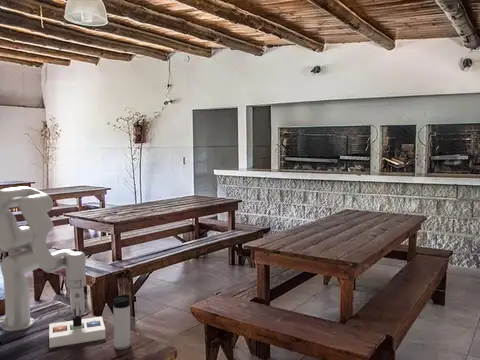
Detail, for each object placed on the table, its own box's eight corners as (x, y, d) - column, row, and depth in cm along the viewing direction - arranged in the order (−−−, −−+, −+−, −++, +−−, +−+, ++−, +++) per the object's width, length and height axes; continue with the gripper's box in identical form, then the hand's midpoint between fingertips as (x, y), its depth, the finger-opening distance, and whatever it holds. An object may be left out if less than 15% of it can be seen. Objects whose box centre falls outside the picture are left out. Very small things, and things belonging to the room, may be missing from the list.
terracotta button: (54, 340, 176) (53, 331, 175) (54, 335, 180) (53, 326, 179) (66, 338, 177) (66, 329, 177) (66, 334, 182) (65, 324, 181)
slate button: (88, 335, 181) (88, 326, 180) (87, 330, 185) (87, 321, 185) (100, 333, 183) (99, 324, 182) (98, 329, 187) (98, 320, 186)
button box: (49, 347, 171) (49, 337, 170) (49, 333, 184) (49, 323, 183) (105, 338, 179) (105, 329, 179) (101, 325, 192) (101, 316, 191)
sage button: (71, 338, 178) (71, 328, 178) (71, 333, 182) (70, 324, 182) (83, 336, 180) (83, 326, 180) (82, 331, 184) (82, 322, 184)
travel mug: (134, 345, 174) (133, 296, 172) (121, 351, 168) (120, 301, 167) (123, 340, 177) (123, 292, 175) (110, 347, 172) (109, 297, 170)
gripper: (87, 286, 174) (88, 331, 175) (84, 275, 187) (85, 317, 189) (66, 289, 171) (68, 334, 172) (65, 278, 184) (67, 320, 186)
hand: (77, 325), depth 181 cm, fingers closed
